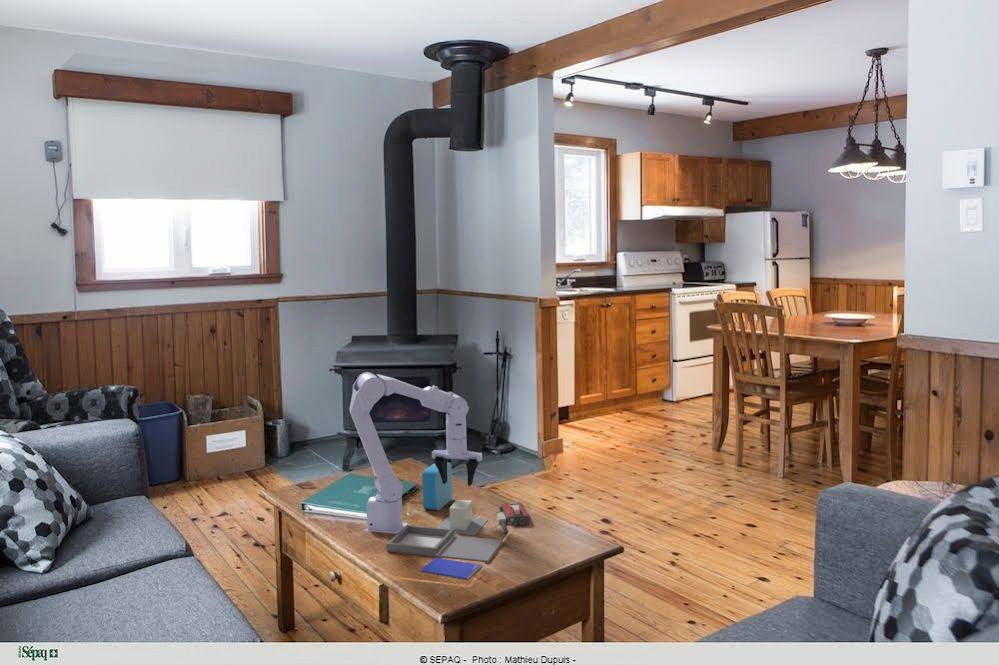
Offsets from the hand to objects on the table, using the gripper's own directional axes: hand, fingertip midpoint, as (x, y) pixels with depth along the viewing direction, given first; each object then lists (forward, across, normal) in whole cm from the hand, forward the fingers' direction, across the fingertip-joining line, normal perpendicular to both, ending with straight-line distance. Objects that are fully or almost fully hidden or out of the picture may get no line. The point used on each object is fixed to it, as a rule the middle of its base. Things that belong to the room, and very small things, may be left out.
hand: (457, 483), depth 226 cm
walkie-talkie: (+11, -16, -1) cm, 20 cm away
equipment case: (+10, -4, +21) cm, 24 cm away
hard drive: (+11, -10, +34) cm, 37 cm away
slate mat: (+10, -3, +6) cm, 12 cm away
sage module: (+10, -3, +6) cm, 12 cm away
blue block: (+11, +10, -10) cm, 18 cm away
